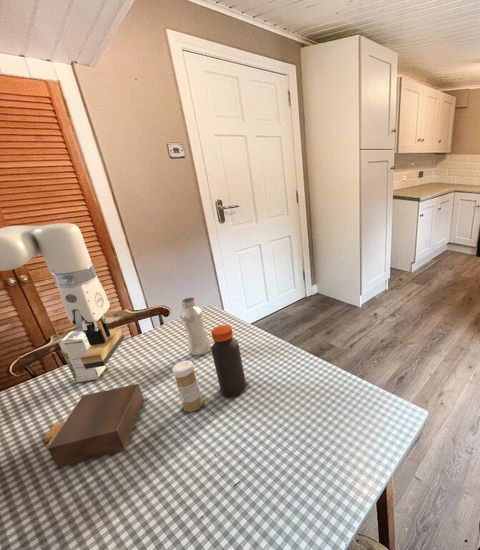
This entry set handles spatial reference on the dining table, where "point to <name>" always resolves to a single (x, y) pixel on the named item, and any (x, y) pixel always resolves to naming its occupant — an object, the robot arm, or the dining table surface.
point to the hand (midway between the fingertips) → (100, 340)
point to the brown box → (98, 425)
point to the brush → (102, 348)
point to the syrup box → (78, 356)
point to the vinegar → (228, 361)
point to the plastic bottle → (194, 327)
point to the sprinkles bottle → (187, 385)
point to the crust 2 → (52, 439)
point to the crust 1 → (53, 431)
